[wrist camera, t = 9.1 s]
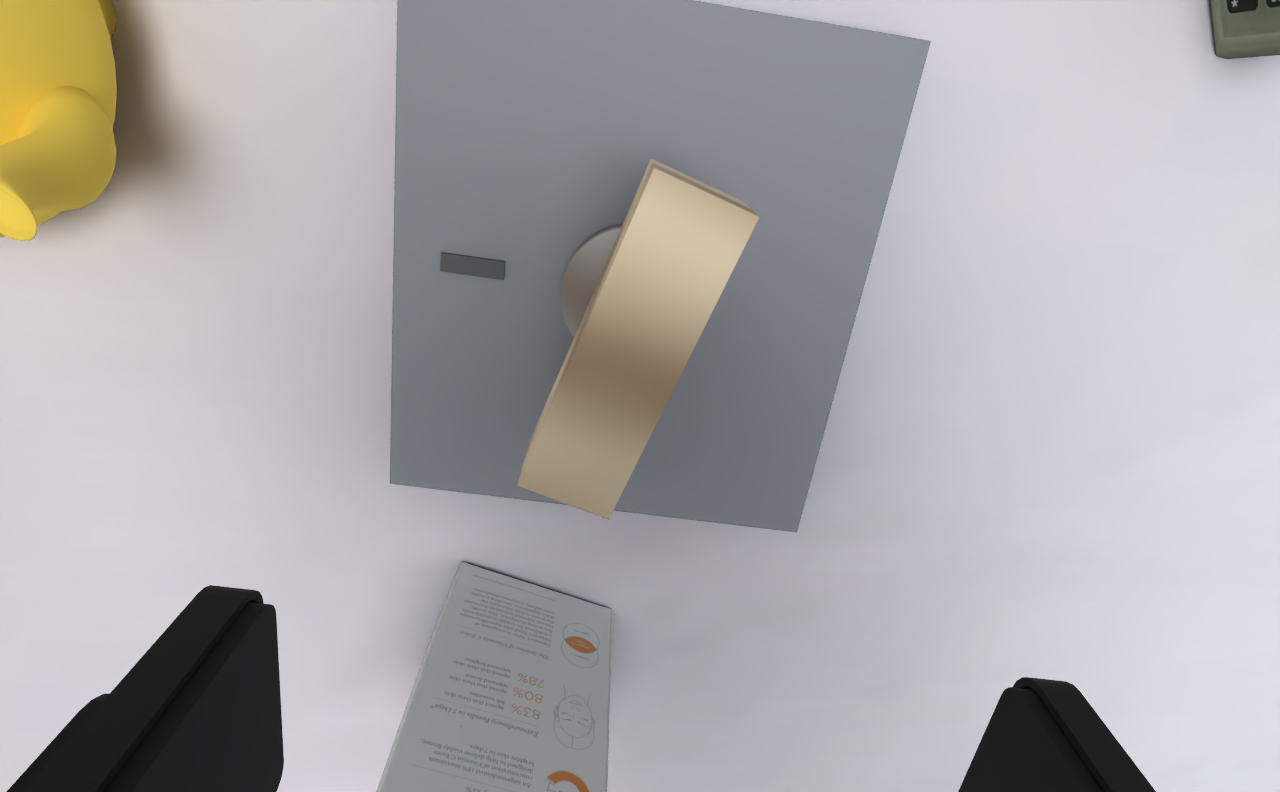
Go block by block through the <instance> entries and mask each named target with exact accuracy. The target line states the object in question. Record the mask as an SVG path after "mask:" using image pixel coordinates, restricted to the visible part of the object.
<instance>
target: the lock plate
mask: <svg viewBox="0 0 1280 792" xmlns="http://www.w3.org/2000/svg"><path fill="white" fill-rule="evenodd" d="M930 42H931V41H928V40H922V39H916V38H910V37H904V36H899V35H893V34H887V33H881V32H875V31H869V30H863V29H857V28H852V27H846V26H840V25H834V24H828V23H822V22H816V21H811V20H805V19H799V18H793V17H787V16H781V15H775V14H769V13H764V12H758V11H752V10H746V9H740V8H734V7H728V6H723V5H717V4H711V3H705V2H699V1H693V0H398V8H397V71H396V135H395V198H394V261H393V324H392V387H391V450H390V484H398V485H407V486H415V487H423V488H432V489H440V490H448V491H457V492H465V493H473V494H482V495H490V496H498V497H507V498H515V499H523V500H532V501H540V502H548V503H557V504H565V503H563V502H560V501H557V500H555V499H552V498H549V497H547V496H544V495H541V494H538V493H536V492H533V491H530V490H528V489H525V488H522V487H520V486H517V484H518V480H519V477H520V473H521V470H522V466H523V463H524V459H525V456H526V452H527V449H528V445H529V442H530V439H531V437H532V435H533V432H534V430H535V428H536V425H537V423H538V421H539V418H540V416H541V414H542V411H543V409H544V407H545V404H546V402H547V400H548V397H549V395H550V393H551V390H552V388H553V386H554V383H555V381H556V379H557V376H558V374H559V372H560V369H561V367H562V365H563V362H564V360H565V358H566V355H567V353H568V351H569V348H570V346H571V344H572V341H573V339H574V337H573V335H572V334H571V332H570V331H569V329H568V327H567V325H566V322H565V320H564V317H563V313H562V309H561V299H560V297H561V286H562V281H563V278H564V275H565V272H566V269H567V266H568V264H569V262H570V260H571V257H572V256H573V254H574V253H575V251H576V250H577V248H578V247H579V246H580V245H581V244H582V243H583V242H584V241H585V240H586V239H587V238H588V237H589V236H591V235H593V234H594V233H596V232H597V231H599V230H601V229H604V228H606V227H609V226H612V225H618V224H623V222H624V220H625V218H626V215H627V213H628V211H629V208H630V206H631V204H632V201H633V199H634V197H635V194H636V192H637V190H638V187H639V185H640V183H641V180H642V178H643V176H644V173H645V171H646V169H647V166H648V164H649V162H650V159H654V160H656V161H658V162H660V163H662V164H664V165H666V166H669V167H671V168H673V169H675V170H677V171H679V172H681V173H684V174H686V175H688V176H690V177H692V178H694V179H696V180H699V181H701V182H703V183H705V184H707V185H709V186H711V187H714V188H716V189H718V190H720V191H722V192H724V193H726V194H729V195H731V196H733V197H735V198H737V199H739V200H741V201H743V202H744V203H745V204H746V205H747V206H748V207H749V208H751V209H752V210H753V211H754V212H755V213H756V214H757V215H758V216H759V219H758V221H757V223H756V225H755V227H754V229H753V231H752V233H751V235H750V237H749V239H748V241H747V243H746V245H745V247H744V249H743V251H742V253H741V255H740V257H739V259H738V261H737V263H736V265H735V267H734V269H733V271H732V273H731V275H730V277H729V279H728V281H727V283H726V285H725V287H724V289H723V291H722V293H721V295H720V297H719V299H718V301H717V303H716V305H715V307H714V309H713V311H712V313H711V315H710V317H709V319H708V321H707V323H706V325H705V327H704V329H703V331H702V333H701V335H700V337H699V339H698V341H697V343H696V345H695V347H694V349H693V351H692V353H691V355H690V357H689V359H688V361H687V364H686V366H685V368H684V370H683V372H682V374H681V376H680V378H679V380H678V382H677V384H676V386H675V388H674V390H673V392H672V394H671V396H670V398H669V400H668V402H667V404H666V406H665V408H664V410H663V412H662V414H661V416H660V418H659V420H658V422H657V424H656V426H655V428H654V430H653V432H652V434H651V436H650V438H649V440H648V442H647V444H646V446H645V448H644V450H643V452H642V454H641V456H640V458H639V460H638V462H637V464H636V466H635V468H634V470H633V472H632V474H631V476H630V478H629V480H628V482H627V484H626V486H625V488H624V490H623V492H622V494H621V496H620V498H619V500H618V502H617V504H616V506H615V508H614V510H615V511H623V512H632V513H640V514H648V515H657V516H665V517H673V518H682V519H690V520H698V521H707V522H715V523H723V524H732V525H740V526H748V527H757V528H765V529H773V530H782V531H790V532H797V530H798V526H799V522H800V519H801V515H802V511H803V508H804V504H805V500H806V497H807V493H808V489H809V486H810V482H811V478H812V475H813V471H814V467H815V464H816V460H817V456H818V453H819V449H820V445H821V442H822V438H823V434H824V431H825V427H826V423H827V420H828V416H829V412H830V409H831V405H832V401H833V398H834V394H835V390H836V387H837V383H838V379H839V376H840V372H841V368H842V365H843V361H844V357H845V354H846V350H847V346H848V343H849V339H850V335H851V332H852V328H853V324H854V321H855V317H856V313H857V310H858V306H859V303H860V299H861V295H862V292H863V288H864V284H865V281H866V277H867V273H868V270H869V266H870V262H871V259H872V255H873V251H874V248H875V244H876V240H877V237H878V233H879V229H880V226H881V222H882V218H883V215H884V211H885V207H886V204H887V200H888V196H889V193H890V189H891V185H892V182H893V178H894V174H895V171H896V167H897V163H898V160H899V156H900V152H901V149H902V145H903V141H904V138H905V134H906V130H907V127H908V123H909V119H910V116H911V112H912V108H913V105H914V101H915V97H916V94H917V90H918V86H919V83H920V79H921V75H922V72H923V68H924V64H925V61H926V57H927V53H928V50H929V46H930ZM565 505H568V504H565Z"/></svg>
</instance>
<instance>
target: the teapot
mask: <svg viewBox="0 0 1280 792" xmlns="http://www.w3.org/2000/svg"><path fill="white" fill-rule="evenodd" d="M115 29H116V13H115V9H114V6H113V4H112V1H111V0H0V237H4V236H8V237H10V238H13V239H16V240H21V241H25V240H30V239H32V238H34V237H35V235H36V233H37V226H39V225H41V224H43V223H44V222H46V221H48V220H50V219H51V218H53V217H55V216H56V215H58V214H59V213H60V212H61V211H68V210H74V209H79V208H82V207H84V206H86V205H88V204H90V203H92V202H93V201H94V200H95V199H96V198H98V197H99V196H100V195H101V193H102V192H103V191H104V189H105V188H106V186H107V185H108V183H109V182H110V180H111V177H112V174H113V171H114V168H115V163H116V153H117V151H116V145H115V138H114V134H113V125H114V120H115V113H116V98H117V84H116V69H115V61H114V55H113V50H112V45H111V37H112V36H113V34H114V32H115Z"/></svg>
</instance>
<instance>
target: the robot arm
mask: <svg viewBox="0 0 1280 792" xmlns="http://www.w3.org/2000/svg"><path fill="white" fill-rule="evenodd" d="M283 763H284V757H283V738H282V719H281V700H280V681H279V662H278V642H277V623H276V611H275V608H274V606H273V605H269V604H263V598H262V595H261V594H260V592H258V591H255V590H247V589H238V588H229V587H220V586H211V585H210V586H207V587H205V588H204V589H202V590H201V591H200V592H199V593H198V594H197V595H196V596H195V598H194V599H193V600H192V601H191V602H190V603H189V604H188V606H187V607H186V608H185V609H184V610H183V611H182V612H181V613H180V615H179V616H178V617H177V618H176V619H175V620H174V621H173V623H172V624H171V625H170V626H169V627H168V628H167V629H166V631H165V632H164V633H163V634H162V635H161V636H160V637H159V639H158V640H157V641H156V642H155V643H154V644H153V645H152V646H151V648H150V649H149V650H148V651H147V652H146V653H145V654H144V656H143V657H142V658H141V659H140V660H139V661H138V662H137V664H136V665H135V666H134V667H133V668H132V669H131V670H130V672H129V673H128V674H127V675H126V676H125V677H124V678H123V680H122V681H121V682H120V683H119V684H118V685H117V686H116V687H115V689H114V690H113V691H112V692H111V693H110V694H103V695H101V696H99V697H97V698H95V699H93V700H91V701H90V702H89V703H88V704H87V705H86V706H85V707H84V708H82V709H81V710H80V711H79V712H78V713H77V714H76V715H75V717H74V718H73V719H72V720H71V721H70V722H69V723H68V724H67V725H66V727H65V728H64V729H63V730H62V731H61V732H60V733H59V734H58V735H57V737H56V738H55V739H54V740H53V741H52V742H51V743H50V744H49V745H48V746H47V748H46V749H45V750H44V751H43V752H42V753H41V754H40V755H39V756H38V758H37V759H36V760H35V761H34V762H33V763H32V764H31V765H30V766H29V768H28V769H27V770H26V771H25V772H24V773H23V774H22V775H21V776H20V777H19V779H18V780H17V781H16V782H15V783H14V784H13V785H12V786H11V787H10V789H9V790H8V791H7V792H276V791H277V789H278V786H279V783H280V780H281V776H282V771H283ZM958 792H1156V791H1155V790H1154V789H1153V787H1152V786H1151V785H1150V783H1149V782H1148V781H1147V779H1146V778H1145V777H1144V776H1143V774H1142V773H1141V772H1140V770H1139V769H1138V768H1137V766H1136V765H1135V764H1134V762H1133V761H1132V760H1131V758H1130V757H1129V756H1128V754H1127V753H1126V752H1125V750H1124V749H1123V748H1122V746H1121V745H1120V744H1119V743H1118V741H1117V740H1116V739H1115V737H1114V736H1113V735H1112V733H1111V732H1110V731H1109V729H1108V728H1107V727H1106V725H1105V724H1104V723H1103V721H1102V720H1101V719H1100V717H1099V716H1098V715H1097V713H1096V712H1095V711H1094V709H1093V708H1092V707H1091V706H1090V704H1089V703H1088V702H1087V700H1086V699H1085V698H1084V696H1083V695H1082V694H1081V692H1080V691H1079V690H1078V689H1077V688H1076V687H1075V686H1074V685H1072V684H1070V683H1068V682H1064V681H1055V680H1046V679H1037V678H1021V679H1019V680H1018V681H1016V683H1015V684H1014V686H1013V687H1009V688H1007V689H1005V690H1004V692H1003V693H1002V695H1001V697H1000V699H999V702H998V704H997V706H996V708H995V711H994V713H993V715H992V717H991V720H990V722H989V724H988V726H987V729H986V731H985V733H984V735H983V738H982V740H981V742H980V744H979V747H978V749H977V751H976V753H975V756H974V758H973V760H972V762H971V765H970V767H969V769H968V771H967V773H966V776H965V778H964V780H963V782H962V785H961V787H960V789H959V791H958Z"/></svg>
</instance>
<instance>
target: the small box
mask: <svg viewBox="0 0 1280 792" xmlns="http://www.w3.org/2000/svg"><path fill="white" fill-rule="evenodd" d="M611 636H612V611H611V609H609V608H606V607H602V606H599V605H596V604H593V603H589V602H586V601H583V600H580V599H577V598H574V597H571V596H568V595H565V594H561V593H558V592H555V591H552V590H549V589H546V588H543V587H540V586H537V585H533V584H530V583H527V582H524V581H521V580H517V579H514V578H511V577H508V576H505V575H502V574H498V573H495V572H492V571H489V570H486V569H483V568H480V567H476V566H473V565H470V564H467V563H464V562H462V563H461V564H460V567H459V569H458V572H457V574H456V577H455V579H454V582H453V584H452V587H451V589H450V592H449V594H448V597H447V599H446V602H445V604H444V607H443V609H442V612H441V614H440V617H439V620H438V622H437V625H436V627H435V630H434V633H433V635H432V638H431V640H430V643H429V646H428V648H427V651H426V654H425V656H424V659H423V662H422V664H421V667H420V670H419V672H418V675H417V678H416V681H415V683H414V686H413V689H412V692H411V694H410V697H409V700H408V703H407V706H406V708H405V711H404V714H403V717H402V720H401V722H400V725H399V728H398V731H397V734H396V737H395V740H394V742H393V745H392V748H391V751H390V754H389V757H388V760H387V763H386V765H385V768H384V771H383V774H382V777H381V780H380V783H379V786H378V789H377V791H376V792H607V780H608V744H609V705H610V676H611Z"/></svg>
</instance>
